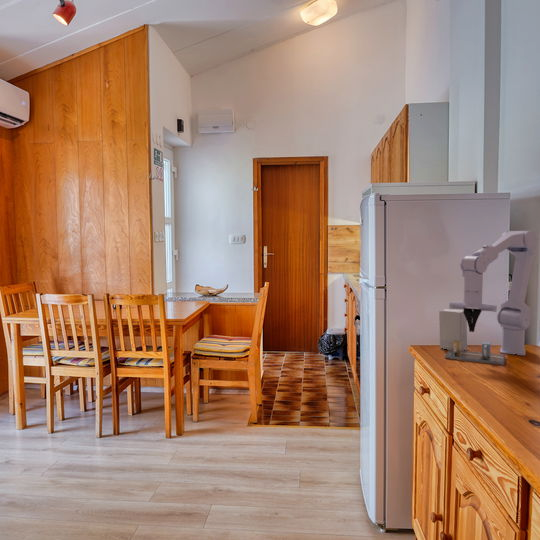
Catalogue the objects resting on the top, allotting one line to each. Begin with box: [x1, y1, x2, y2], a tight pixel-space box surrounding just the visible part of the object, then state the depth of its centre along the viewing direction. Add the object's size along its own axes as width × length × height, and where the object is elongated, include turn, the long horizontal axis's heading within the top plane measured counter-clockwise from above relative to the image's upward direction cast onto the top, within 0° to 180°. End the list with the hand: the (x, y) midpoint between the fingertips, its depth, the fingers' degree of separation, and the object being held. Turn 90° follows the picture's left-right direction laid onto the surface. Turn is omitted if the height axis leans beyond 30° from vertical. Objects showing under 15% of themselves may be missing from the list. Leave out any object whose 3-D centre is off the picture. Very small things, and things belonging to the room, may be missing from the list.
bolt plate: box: [444, 340, 506, 366], centre depth 158 cm, size 11×18×5 cm, turn 60°
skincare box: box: [438, 308, 468, 351], centre depth 171 cm, size 8×6×15 cm
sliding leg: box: [481, 341, 491, 357], centre depth 156 cm, size 7×2×4 cm, turn 150°
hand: (471, 331), depth 155 cm, fingers closed
